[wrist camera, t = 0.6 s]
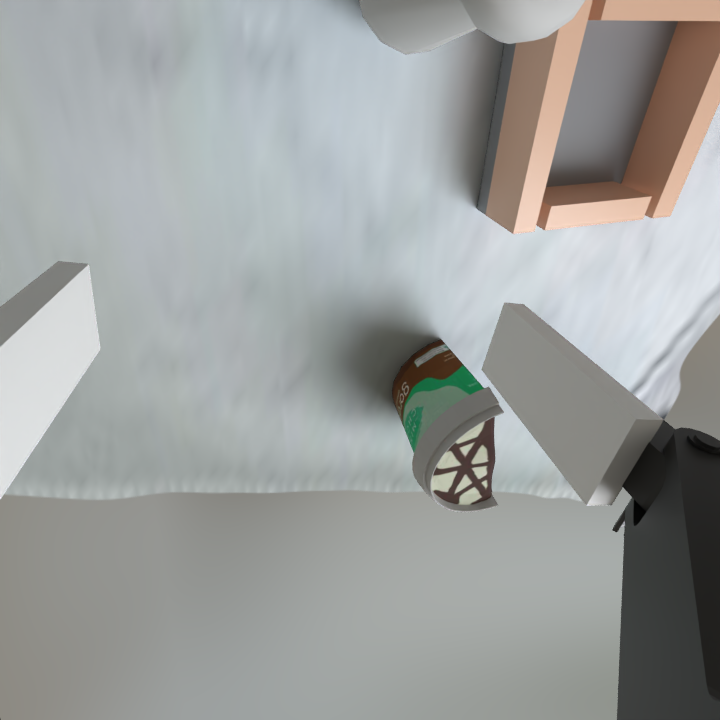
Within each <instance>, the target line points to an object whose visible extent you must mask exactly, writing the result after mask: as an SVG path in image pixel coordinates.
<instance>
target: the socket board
mask: <svg viewBox="0 0 720 720" xmlns="http://www.w3.org/2000/svg"><path fill="white" fill-rule="evenodd" d="M719 102H720V0H585V2H584V3H583V5H582V6H581V8H580V9H579V10H578V12H577V13H576V15H575V16H574V18H573V19H572V20H571V21H569V22H568V23H566V24H565V25H563V26H562V27H561V28H559V29H558V30H556V31H555V32H553V33H552V34H551V35H549V36H548V37H545V38H542V39H538V40H534V41H527V42H520V43H512V44H507V43H504V49H503V55H502V61H501V67H500V73H499V80H498V86H497V92H496V98H495V104H494V110H493V116H492V122H491V128H490V134H489V140H488V146H487V152H486V158H485V164H484V170H483V176H482V182H481V188H480V194H479V200H478V206H477V209H478V210H479V211H481V212H482V213H484V214H485V215H486V216H488V217H489V218H491V219H492V220H494V221H495V222H497V223H498V224H500V225H501V226H502V227H504V228H505V229H507V230H508V231H510V232H511V233H513V234H517V233H526V232H535V228H536V225H537V226H539V227H540V228H542V229H543V230H553V229H562V228H571V227H579V226H588V225H597V224H606V223H615V222H624V221H633V220H641V219H643V218H644V215H646V216H648V217H650V218H659V217H668V216H670V215H671V213H672V211H673V209H674V206H675V204H676V202H677V199H678V197H679V195H680V192H681V190H682V188H683V185H684V183H685V181H686V179H687V176H688V174H689V172H690V169H691V167H692V165H693V162H694V160H695V158H696V155H697V153H698V151H699V149H700V146H701V144H702V142H703V139H704V137H705V135H706V132H707V130H708V128H709V125H710V123H711V121H712V119H713V116H714V114H715V112H716V109H717V107H718V105H719Z"/></svg>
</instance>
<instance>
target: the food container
mask: <svg viewBox="0 0 720 720" xmlns="http://www.w3.org/2000/svg"><path fill="white" fill-rule="evenodd" d="M392 397H393V400H394V403H395V406H396V408H397V411H398V414H399V416H400V419H401V421H402V424H403V426H404V429H405V431H406V434H407V436H408V439H409V442H410V444H411V447H412V449H413V452H414V456H413V462H412V466H413V473H414V477H415V479H416V480H417V482H418V483H419V485H420V486H421V487H422V488H423V490H424V491H425V492H426V493H427V494H428V496H429V497H430V498H431V499H432V500H434V501H435V502H437V503H438V504H439V505H440V506H442V507H444V508H445V509H448V510H451V511H457V512H474V511H481V510H484V509H489V508H492V507H495V506H498V504H497V502H496V501H495V499H494V497H493V495H492V488H491V483H492V473H493V469H494V464H495V446H494V418H495V416H497V415H500V414H503V413H504V411H503V410H502V409H501V407H500V406H499V402H498V400H497V399H496V397H495V396H494V394H493V393H492V391H491V389H490V388H489V387H487V388H483V387H482V385H481V384H480V383H479V382H478V381H477V380H476V379H475V377H474V376H473V375H472V374H471V373H470V372H469V371H468V369H467V368H466V367H465V366H464V365H463V364H462V363H461V361H460V360H459V359H458V358H457V357H456V356H455V355H454V353H453V352H452V351H451V350H450V349H449V348H448V346H447V345H446V344H445V343H444V342H443V341H442V340H439V341H437V342H434V343H431V344H429V345H427V346H426V347H424V348H423V349H421V350H420V351H418V352H417V353H415V354H414V355H413V356H412V357H411V358H410V359H409V360H408V361H407V362H406V363H405V364H404V365H403V366H402V367H401V369H400V371H399V372H398V374H397V376H396V378H395V380H394V384H393V389H392Z"/></svg>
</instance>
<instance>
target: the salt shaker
mask: <svg viewBox="0 0 720 720" xmlns="http://www.w3.org/2000/svg"><path fill="white" fill-rule="evenodd" d="M584 2H585V0H359V3H360V7H361V11H362V16H363V18H364V19H365V21H366V22H367V24H368V25H369V26H370V28H371V29H372V31H373V32H374V33H375V35H376V36H377V38H378V39H379V40H380V41H381V42H382V43H384V44H386V45H388V46H390V47H391V48H393V49H395V50H397V51H399V52H401V53H403V54H405V55H407V54H414V53H421V52H428V51H431V50H433V49H435V48H438V47H440V46H442V45H444V44H446V43H448V42H450V41H453V40H455V39H457V38H459V37H461V36H463V35H465V34H467V33H470V32H472V31H474V30H476V29H478V30H480V31H482V32H483V33H485V34H487V35H488V36H490V37H492V38H494V39H495V40H497V41H499V42H502V43H507V44H512V43H520V42H527V41H534V40H538V39H542V38H545V37H548V36H549V35H551V34H552V33H553V32H555V31H556V30H558V29H559V28H561V27H562V26H563V25H565V24H566V23H568V22H569V21H571V20H572V19H573V18H574V16H575V15H576V13H577V12H578V10H579V9H580V8H581V6H582V5H583V3H584Z"/></svg>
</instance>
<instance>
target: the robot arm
mask: <svg viewBox="0 0 720 720" xmlns="http://www.w3.org/2000/svg"><path fill="white" fill-rule="evenodd" d="M99 350H100V342H99V335H98V328H97V320H96V313H95V306H94V298H93V291H92V284H91V276H90V269H89V264H83V263H72V262H62V261H58V262H57V263H55V264H54V265H53V266H52V267H50V268H49V269H48V270H47V271H45V272H44V273H43V274H42V275H40V276H39V277H38V278H36V279H35V280H34V281H33V282H31V283H30V284H29V285H28V286H26V287H25V288H24V289H22V290H21V291H20V292H19V293H17V294H16V295H15V296H14V297H12V298H11V299H10V300H9V301H7V302H6V303H5V304H3V305H2V306H1V307H0V499H1V498H2V496H3V495H4V493H5V492H6V490H7V489H8V487H9V486H10V484H11V483H12V481H13V480H14V478H15V477H16V475H17V474H18V472H19V471H20V469H21V468H22V466H23V465H24V463H25V462H26V460H27V459H28V457H29V456H30V454H31V453H32V451H33V450H34V448H35V447H36V445H37V444H38V442H39V441H40V439H41V438H42V436H43V435H44V433H45V432H46V430H47V429H48V427H49V426H50V424H51V423H52V421H53V419H54V418H55V416H56V415H57V413H58V412H59V410H60V409H61V407H62V406H63V404H64V403H65V401H66V400H67V398H68V397H69V395H70V394H71V392H72V391H73V389H74V388H75V386H76V385H77V383H78V382H79V380H80V379H81V377H82V376H83V374H84V373H85V371H86V370H87V368H88V367H89V365H90V364H91V362H92V361H93V359H94V358H95V356H96V355H97V353H98V352H99ZM482 371H483V372H484V373H485V375H486V376H487V377H488V379H489V380H490V381H491V383H492V384H493V385H494V386H495V388H496V389H497V390H498V392H499V393H500V394H501V395H502V397H503V398H504V399H505V401H506V402H507V403H508V405H509V406H510V407H511V408H512V410H513V411H514V412H515V414H516V415H517V416H518V418H519V419H520V420H521V421H522V423H523V424H524V425H525V427H526V428H527V429H528V431H529V432H530V433H531V434H532V436H533V437H534V438H535V440H536V441H537V442H538V443H539V445H540V446H541V447H542V449H543V450H544V451H545V453H546V454H547V455H548V456H549V458H550V459H551V460H552V462H553V463H554V464H555V466H556V467H557V468H558V469H559V471H560V472H561V473H562V475H563V476H564V477H565V479H566V480H567V481H568V482H569V484H570V485H571V486H572V488H573V489H574V490H575V491H576V493H577V494H578V495H579V497H580V498H581V499H582V501H583V502H584V503H585V504H586V505H587V506H590V505H591V506H592V505H612V503H613V502H614V501H615V499H616V497H617V496H618V494H619V492H620V491H621V489H622V487H624V489H625V490H626V491H627V492H628V493H629V494H630V495H631V496H632V499H631V500H630V502H629V503H628V505H627V506H626V508H625V510H624V511H623V513H622V515H621V516H620V518H619V519H618V521H617V522H616V524H615V525H614V527H613V531H615V532H617V531H618V530H619V528H620V527H625V532H624V557H623V583H622V608H621V634H620V660H619V684H618V709H617V720H720V441H719V440H717V439H716V438H714V437H712V436H710V435H708V434H705V433H703V432H700V431H697V430H693V429H690V428H679V429H676V430H675V429H674V428H673V427H672V426H670V425H669V424H668V423H667V422H665V421H664V420H663V419H662V418H661V417H660V416H658V415H657V414H656V413H655V412H654V411H652V410H651V409H650V408H649V407H648V406H646V405H645V404H644V403H643V402H641V401H640V400H639V399H638V398H637V397H635V396H634V395H633V394H632V393H631V392H629V391H628V390H627V389H626V388H624V387H623V386H622V385H621V384H620V383H618V382H617V381H616V380H615V379H614V378H612V377H611V376H610V375H609V374H608V373H606V372H605V371H604V370H603V369H601V368H600V367H599V366H598V365H597V364H595V363H594V362H593V361H592V360H591V359H589V358H588V357H587V356H586V355H584V354H583V353H582V352H581V351H580V350H578V349H577V348H576V347H575V346H574V345H572V344H571V343H570V342H569V341H568V340H566V339H565V338H564V337H563V336H561V335H560V334H559V333H558V332H557V331H555V330H554V329H553V328H552V327H551V326H549V325H548V324H547V323H546V322H545V321H543V320H542V319H541V318H540V317H538V316H537V315H536V314H535V313H534V312H532V311H531V310H530V309H529V308H528V307H526V306H525V305H524V304H514V303H504V305H503V308H502V311H501V314H500V317H499V320H498V323H497V326H496V329H495V332H494V335H493V337H492V340H491V343H490V346H489V349H488V352H487V355H486V358H485V361H484V364H483V367H482Z"/></svg>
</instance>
